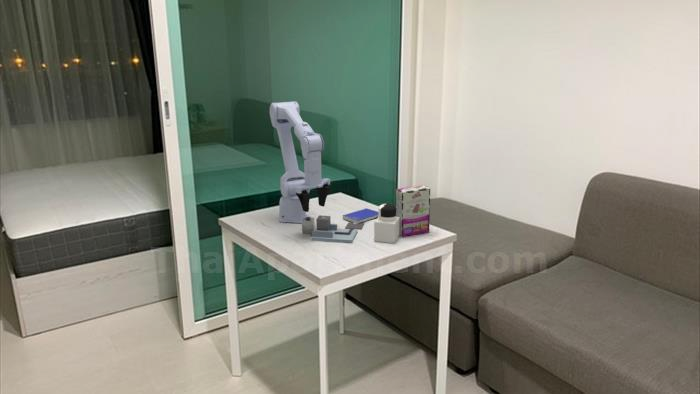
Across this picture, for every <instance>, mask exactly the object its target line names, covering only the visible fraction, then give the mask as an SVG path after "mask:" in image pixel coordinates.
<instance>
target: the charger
mask: <svg viewBox="0 0 700 394" xmlns="http://www.w3.org/2000/svg"><path fill="white" fill-rule="evenodd" d="M315 221H316V230H320V231H331V224H332V223H331V221H332V220H331V215H318V216H317V217H316V219H315Z"/></svg>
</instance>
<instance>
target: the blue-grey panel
mask: <svg viewBox="0 0 700 394" xmlns="http://www.w3.org/2000/svg"><path fill="white" fill-rule="evenodd" d="M357 234H358V229H354V228H350V229H345V228H338V224H337V223H331V231H320V230H317V229H315V230H312V235H311V238H310V239H311V241H313V242H315V241H318V242H331V243H346V244H347V243H348V244H353V242H354V240H355V238H356V236H357Z"/></svg>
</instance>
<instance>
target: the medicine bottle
mask: <svg viewBox="0 0 700 394" xmlns="http://www.w3.org/2000/svg"><path fill="white" fill-rule="evenodd" d="M377 208H378V210H377V212H378V217H376V218H375V219H376V220H374V223H373V226H374V227H373V228H374V230H373V231H374V233H373V234H374V235H373V236H374V239H373V240H374V242H378V243H379V242H380V243H387V244H395V243H396V242H397V240H398V238H400V235H399V233H400V217H396V204H395V205H394V204H392V203H382V204H380V205H379V206H378V207H377Z"/></svg>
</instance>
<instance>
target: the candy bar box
mask: <svg viewBox="0 0 700 394" xmlns="http://www.w3.org/2000/svg"><path fill="white" fill-rule="evenodd" d="M395 206H396V217H400V233H399V237H401V238H407V237H411V236H416V235H422V234H427V233H430V223H431V222H430V221H431V220H430V218H431V217H430V215H431V213H430V211H431V188H430V187H429V186H426V185H425V184H421V185H420V184H419V185H413V186H407V187H401V188H396V189H395Z"/></svg>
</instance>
